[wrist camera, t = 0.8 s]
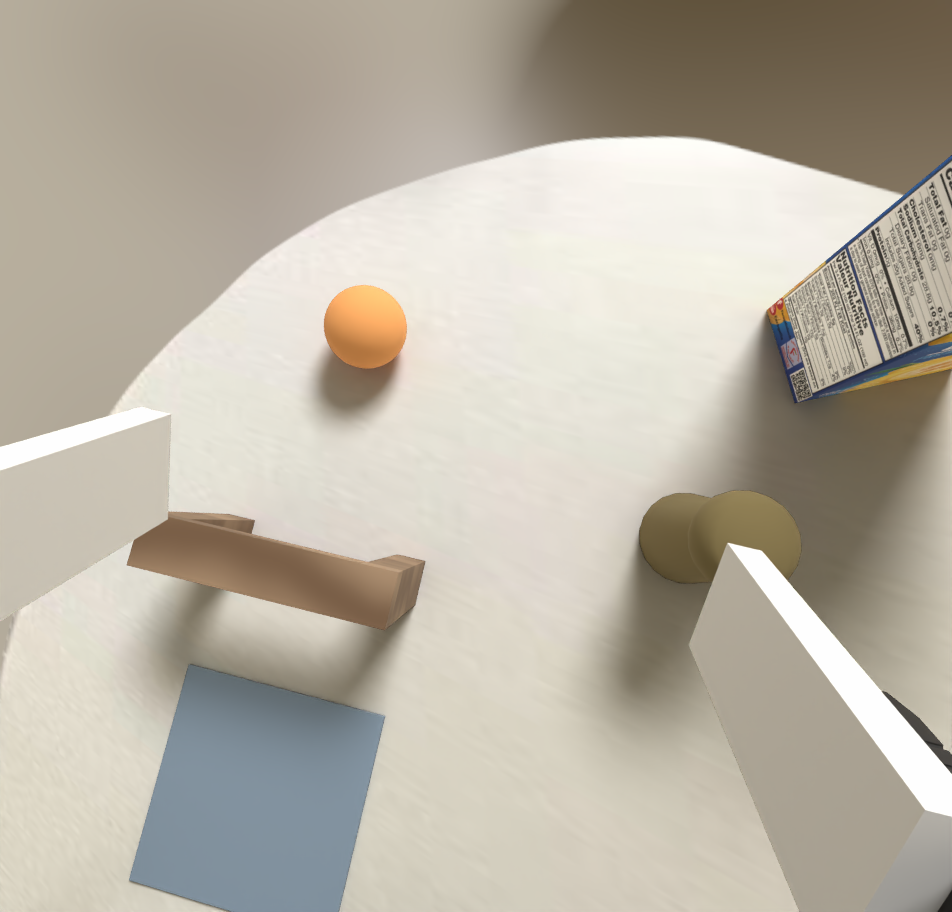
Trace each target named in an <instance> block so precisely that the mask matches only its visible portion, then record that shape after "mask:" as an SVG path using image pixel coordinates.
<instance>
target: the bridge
mask: <svg viewBox="0 0 952 912" xmlns="http://www.w3.org/2000/svg"><path fill="white" fill-rule="evenodd" d="M254 522H255V520H251V519H247V518H243V517H238V516H234V515H230V514H214V513H190V512H168V520H166V521H164V522H163V523H161V524H159V525H158V526H156V527H154V528H153V529H151V530H149V531H148V532H146V533H145V534H143V535H141V536H140V537H138V538H136V539H135V540H134V542H133V545H132V549H131V552H130V555H129V559H128V562H127V565H128V566H132V567H136V568H140V569H144V570H148V571H152V572H156V573H160V574H164V575H168V576H172V577H176V578H180V579H184V580H188V581H192V582H195V583H199V584H203V585H207V586H211V587H215V588H219V589H223V590H227V591H231V592H235V593H239V594H243V595H247V596H251V597H255V598H259V599H263V600H267V601H271V602H275V603H279V604H283V605H287V606H291V607H295V608H299V609H303V610H307V611H310V612H314V613H318V614H322V615H326V616H330V617H334V618H338V619H342V620H346V621H350V622H354V623H358V624H362V625H366V626H370V627H374V628H378V629H382V630H386V629H387V628H388V627H389V626H390V625H392V624H393V623H394V622H395V621H396V620H398V619H399V618H400V617H401V616H402V615H404V614H405V613H406V612H407V611H408V610H409V609H411V608H412V607H413V606H414V605H415V603H416V599H417V595H418V590H419V586H420V582H421V578H422V573H423V569H424V565H425V561H422V560H418V559H414V558H410V557H406V556H401V555H394V556H390V557H386V558H382V559H378V560H374V561H370V562H365V561H361V560H357V559H353V558H349V557H344V556H340V555H336V554H332V553H328V552H324V551H320V550H315V549H311V548H307V547H303V546H299V545H295V544H291V543H287V542H282V541H278V540H274V539H270V538H266V537H262V536H258V535H253V534H251V533H252V529H253V525H254Z"/></svg>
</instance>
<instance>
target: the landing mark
mask: <svg viewBox="0 0 952 912" xmlns="http://www.w3.org/2000/svg"><path fill="white" fill-rule="evenodd" d="M384 719H385V716H383V715H379V714H375V713H371V712H368V711H364V710H360V709H356V708H353V707H349V706H345V705H341V704H338V703H334V702H330V701H326V700H323V699H319V698H315V697H311V696H308V695H304V694H300V693H296V692H292V691H289V690H285V689H281V688H277V687H274V686H270V685H266V684H262V683H259V682H255V681H251V680H247V679H244V678H240V677H236V676H232V675H229V674H225V673H221V672H217V671H214V670H210V669H206V668H202V667H199V666H195V665H191V664H190V665H188V669H187V673H186V676H185V680H184V683H183V687H182V691H181V694H180V698H179V701H178V705H177V709H176V712H175V716H174V719H173V723H172V727H171V730H170V734H169V737H168V741H167V745H166V748H165V752H164V756H163V759H162V763H161V766H160V770H159V774H158V777H157V781H156V784H155V788H154V792H153V795H152V799H151V802H150V806H149V810H148V813H147V817H146V820H145V824H144V828H143V831H142V835H141V838H140V842H139V846H138V849H137V853H136V856H135V860H134V864H133V867H132V871H131V874H130V878H129V880H130V881H133V882H137V883H140V884H143V885H146V886H150V887H153V888H156V889H160V890H163V891H166V892H169V893H173V894H176V895H179V896H182V897H186V898H189V899H192V900H195V901H199V902H202V903H205V904H209V905H212V906H215V907H218V908H222V909H225V910H228V911H231V912H339V909H340V905H341V900H342V896H343V892H344V888H345V884H346V879H347V875H348V871H349V867H350V862H351V858H352V854H353V850H354V845H355V841H356V837H357V833H358V829H359V824H360V820H361V816H362V812H363V807H364V803H365V799H366V795H367V790H368V786H369V782H370V778H371V774H372V769H373V765H374V761H375V757H376V752H377V748H378V744H379V740H380V735H381V731H382V727H383V723H384Z"/></svg>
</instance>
